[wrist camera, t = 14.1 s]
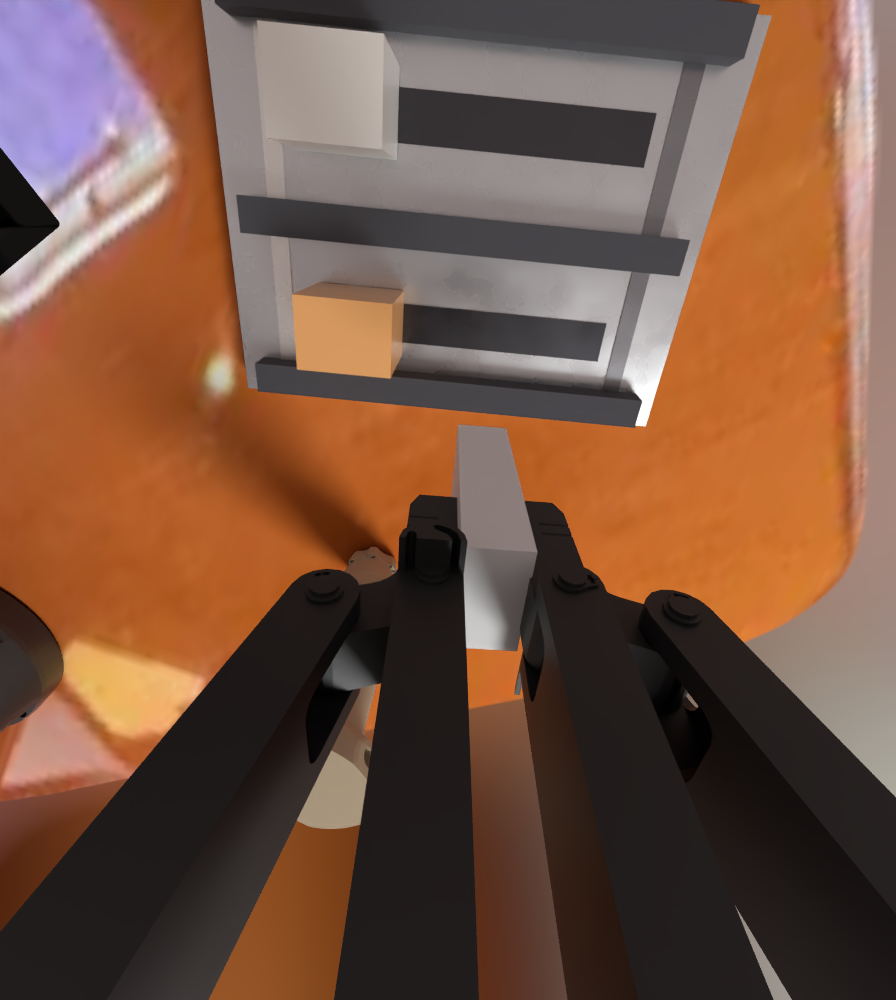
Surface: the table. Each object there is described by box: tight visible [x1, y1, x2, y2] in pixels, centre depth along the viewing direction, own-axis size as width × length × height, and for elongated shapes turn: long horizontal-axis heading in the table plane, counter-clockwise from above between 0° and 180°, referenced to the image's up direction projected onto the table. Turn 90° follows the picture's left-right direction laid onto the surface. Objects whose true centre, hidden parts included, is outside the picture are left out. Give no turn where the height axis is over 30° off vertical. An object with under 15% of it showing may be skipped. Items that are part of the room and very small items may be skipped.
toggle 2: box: [292, 282, 404, 379], centre depth 22 cm, size 4×3×4 cm
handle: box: [297, 547, 396, 829], centre depth 27 cm, size 5×6×15 cm
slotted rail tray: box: [214, 0, 760, 428], centre depth 21 cm, size 19×16×1 cm
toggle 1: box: [257, 20, 400, 160], centre depth 18 cm, size 4×3×4 cm
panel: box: [201, 0, 771, 426], centre depth 23 cm, size 21×16×2 cm
